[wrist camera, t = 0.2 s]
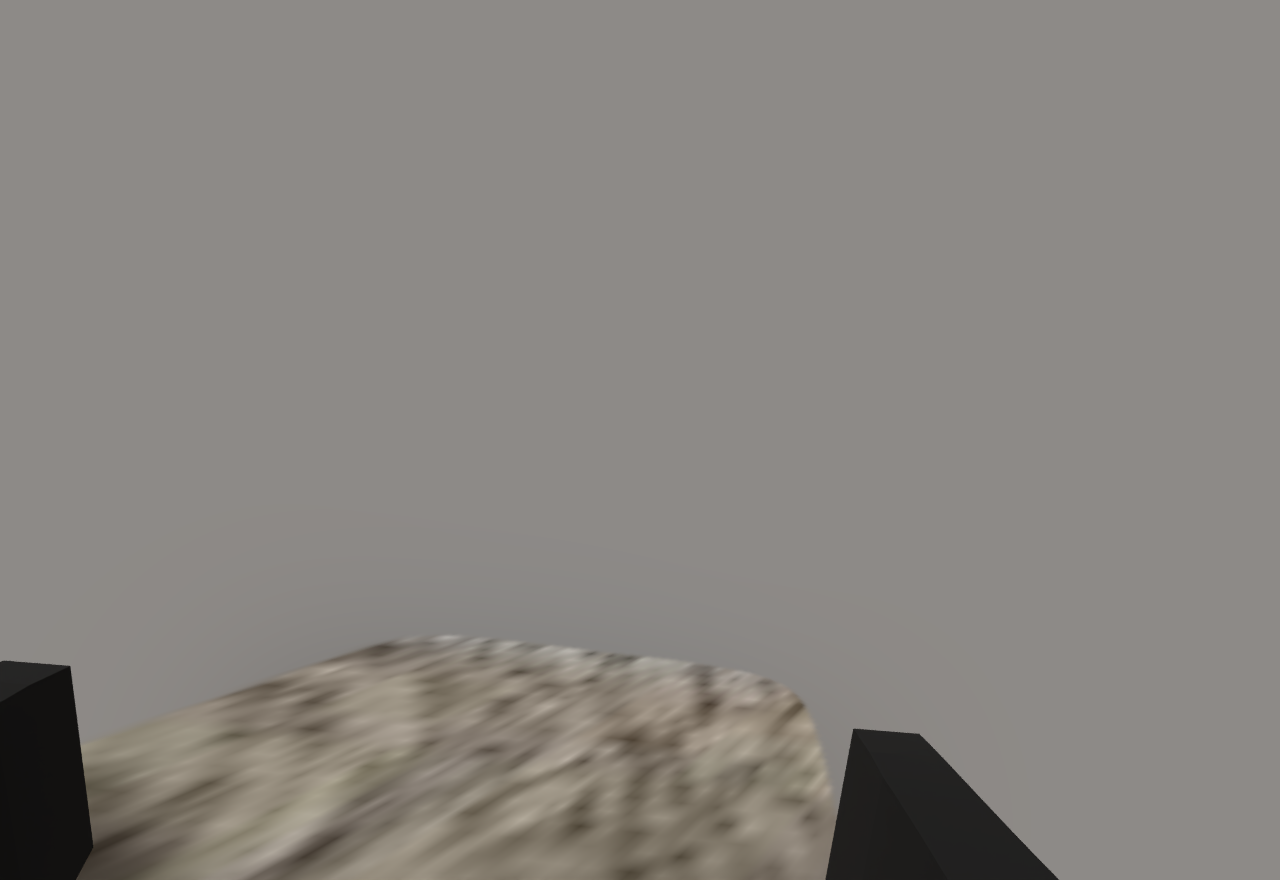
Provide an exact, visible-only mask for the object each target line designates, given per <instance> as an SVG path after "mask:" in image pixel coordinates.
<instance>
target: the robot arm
mask: <svg viewBox="0 0 1280 880" xmlns="http://www.w3.org/2000/svg"><path fill="white" fill-rule="evenodd" d="M92 848H93V840H92V832H91V825H90V817H89V809H88V801H87V793H86V785H85V778H84V770H83V762H82V754H81V746H80V738H79V731H78V723H77V715H76V707H75V699H74V691H73V684H72V676H71V668H70V666H64V665H52V664H38V663H27V662H26V663H25V662H14V661H2V662H0V880H76V878H77V877H78V875H79V873H80V871H81V869H82V867H83V865H84V863H85V862H86V860H87V858H88V856H89V854H90V852H91V850H92ZM826 880H1058V878H1056V876H1055V875H1054V874H1053V873H1052V872H1051V871H1050V870H1049V869H1048V868H1047V867H1046V866H1045V865H1044V864H1043V863H1042V862H1041V861H1040V860H1039V859H1038V858H1037V857H1036V856H1035V855H1034V854H1033V853H1032V852H1031V851H1030V850H1029V849H1028V847H1026V845H1025V844H1024V843H1023V842H1022V841H1021V840H1020V839H1019V838H1018V837H1017V836H1016V835H1015V834H1014V833H1013V832H1012V831H1011V830H1010V829H1009V828H1008V827H1007V826H1006V825H1005V823H1004V822H1003V821H1002V820H1001V819H1000V818H999V817H998V816H997V815H996V814H995V813H994V812H993V811H992V810H991V809H990V808H989V807H988V806H987V804H986V803H985V802H984V801H983V800H982V799H981V798H980V797H979V796H978V795H977V794H976V793H975V792H974V791H973V790H972V789H971V787H970V786H969V785H968V784H967V783H966V782H965V781H964V780H963V779H962V778H961V777H960V776H959V775H958V774H957V772H956V771H955V770H954V769H953V768H952V767H951V766H950V765H949V764H948V763H947V762H946V761H945V760H944V759H943V758H942V757H941V756H940V755H939V754H938V752H937V751H936V750H935V749H933V747H932V746H931V745H930V744H929V743H928V742H927V741H926V740H925V739H924V738H923V737H922V736H921V735H920V734H913V733H900V732H889V731H876V730H864V729H853V734H852V739H851V744H850V749H849V755H848V760H847V766H846V771H845V777H844V782H843V788H842V793H841V798H840V804H839V809H838V815H837V820H836V826H835V831H834V837H833V842H832V847H831V853H830V858H829V864H828V869H827V875H826Z"/></svg>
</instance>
